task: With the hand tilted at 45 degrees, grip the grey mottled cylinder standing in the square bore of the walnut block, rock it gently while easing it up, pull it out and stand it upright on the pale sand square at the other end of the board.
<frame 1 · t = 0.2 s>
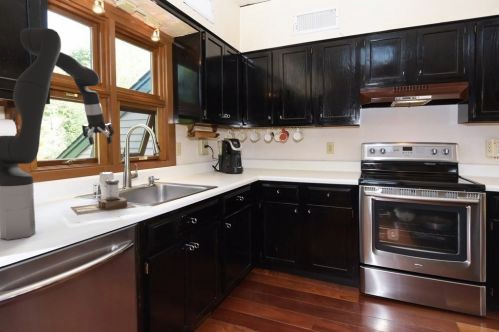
hand: (101, 143, 148), 30 cm above the worktop, tool tilted 20°, fingers open, 8 cm apart
beer glass: (107, 200, 154), on the worktop
grey mottled cylinder: (113, 206, 134), point 1 cm above the worktop, touching bore block
bore block: (103, 210, 132), on the worktop
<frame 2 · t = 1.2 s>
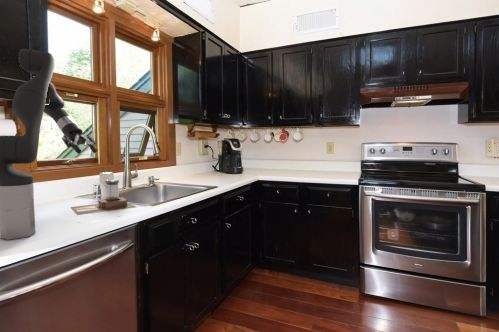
hand: (88, 152, 135), 27 cm above the worktop, tool tilted 45°, fingers open, 8 cm apart
nothing on the worktop moved.
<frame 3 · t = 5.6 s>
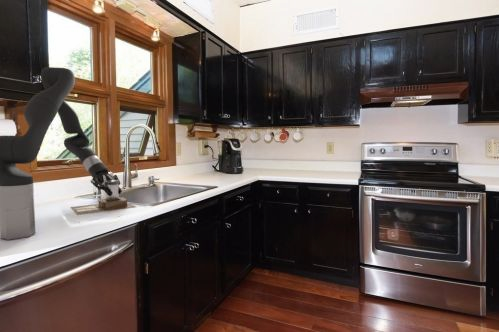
hand: (115, 193, 133), 7 cm above the worktop, tool tilted 45°, fingers closed on grey mottled cylinder, 5 cm apart
grey mottled cylinder: (113, 206, 134), point 2 cm above the worktop, touching bore block, gripper
everything else where it was.
when the fingers open (9 cm above the worktop, at t = 13.9 s): grey mottled cylinder drops 1 cm, resting on bore block.
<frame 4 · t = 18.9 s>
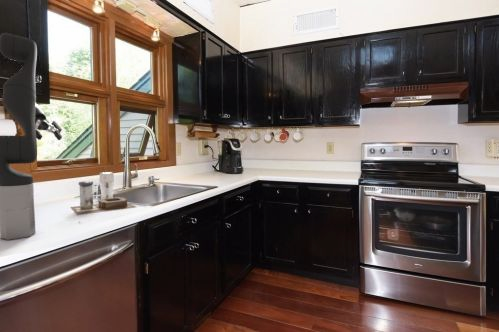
hand: (50, 138, 123), 33 cm above the worktop, tool tilted 45°, fingers open, 8 cm apart
grey mottled cylinder: (86, 208, 127), point 2 cm above the worktop, touching bore block
everything else where it was.
at the end: grey mottled cylinder inside the target area on the bore block (0.4 cm from its centre), point 1.7 cm above the bore block's base; grey mottled cylinder tilted 0°; the gripper is holding nothing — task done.
